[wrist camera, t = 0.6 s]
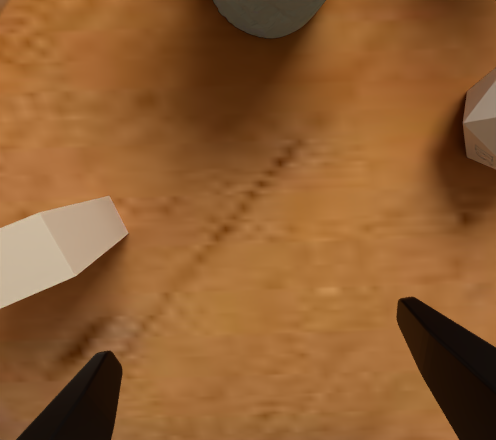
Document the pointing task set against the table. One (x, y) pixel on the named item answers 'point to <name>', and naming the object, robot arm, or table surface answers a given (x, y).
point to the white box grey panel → (55, 246)
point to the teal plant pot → (268, 15)
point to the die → (481, 121)
